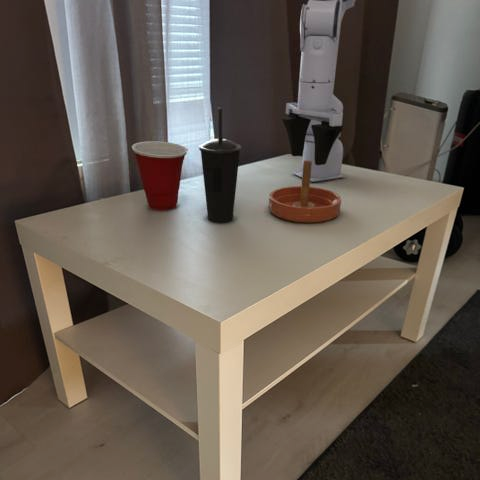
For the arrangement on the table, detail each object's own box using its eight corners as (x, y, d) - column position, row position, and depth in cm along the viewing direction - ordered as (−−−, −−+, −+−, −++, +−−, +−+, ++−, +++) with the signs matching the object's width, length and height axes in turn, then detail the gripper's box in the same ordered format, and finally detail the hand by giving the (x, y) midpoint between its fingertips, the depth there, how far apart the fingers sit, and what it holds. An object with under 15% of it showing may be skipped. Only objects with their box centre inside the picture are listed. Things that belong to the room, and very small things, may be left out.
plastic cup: (181, 217, 94) (178, 154, 88) (129, 212, 96) (122, 150, 90) (196, 200, 104) (194, 141, 97) (148, 196, 105) (143, 138, 99)
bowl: (311, 197, 107) (312, 183, 105) (353, 217, 96) (355, 201, 94) (255, 206, 100) (256, 191, 99) (294, 229, 90) (296, 212, 88)
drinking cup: (247, 221, 93) (251, 109, 83) (214, 228, 89) (213, 113, 79) (225, 209, 99) (226, 103, 88) (193, 216, 95) (189, 106, 84)
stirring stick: (305, 204, 100) (310, 157, 95) (318, 210, 97) (323, 162, 92) (288, 207, 99) (291, 160, 94) (300, 214, 95) (305, 165, 90)
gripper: (274, 78, 89) (270, 153, 96) (322, 86, 79) (314, 171, 86) (305, 76, 92) (299, 150, 99) (355, 85, 82) (345, 166, 89)
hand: (308, 159), depth 93 cm, fingers open, 7 cm apart
